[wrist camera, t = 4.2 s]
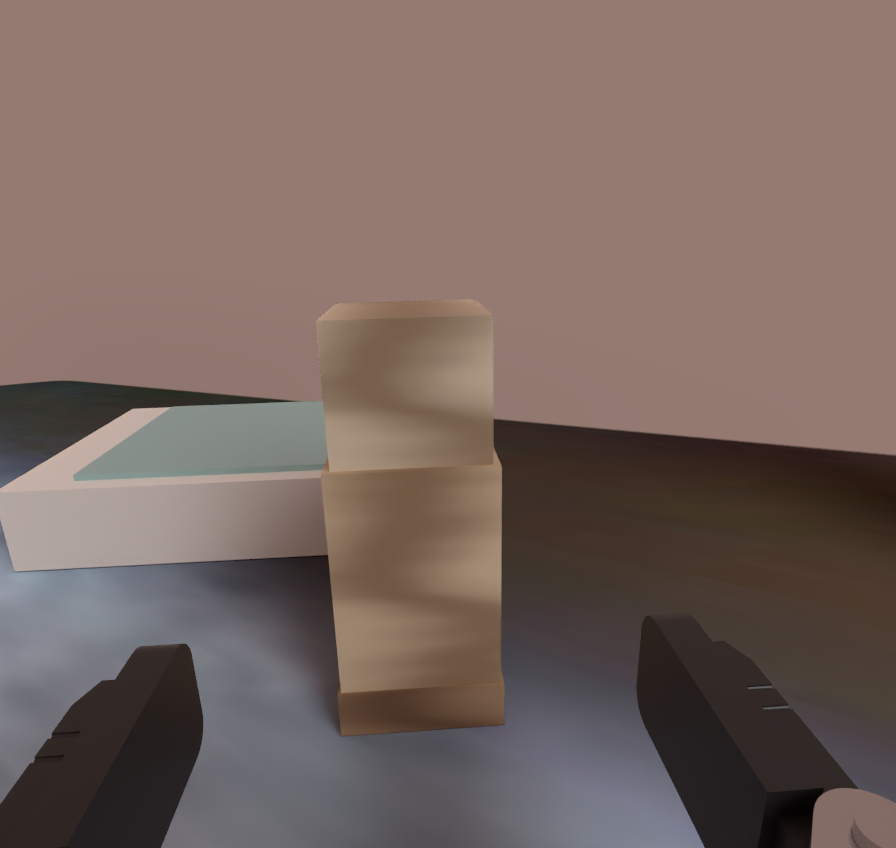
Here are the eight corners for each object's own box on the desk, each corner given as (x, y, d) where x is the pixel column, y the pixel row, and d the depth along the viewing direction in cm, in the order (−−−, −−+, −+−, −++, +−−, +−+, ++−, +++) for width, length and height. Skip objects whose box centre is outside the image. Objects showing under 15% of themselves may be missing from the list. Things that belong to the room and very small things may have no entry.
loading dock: (402, 452, 42) (399, 394, 40) (400, 551, 28) (395, 468, 27) (143, 464, 41) (132, 404, 40) (14, 571, 27) (-9, 486, 26)
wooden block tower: (484, 624, 23) (482, 298, 19) (504, 724, 18) (506, 316, 14) (355, 632, 23) (328, 302, 19) (341, 736, 18) (301, 322, 14)
